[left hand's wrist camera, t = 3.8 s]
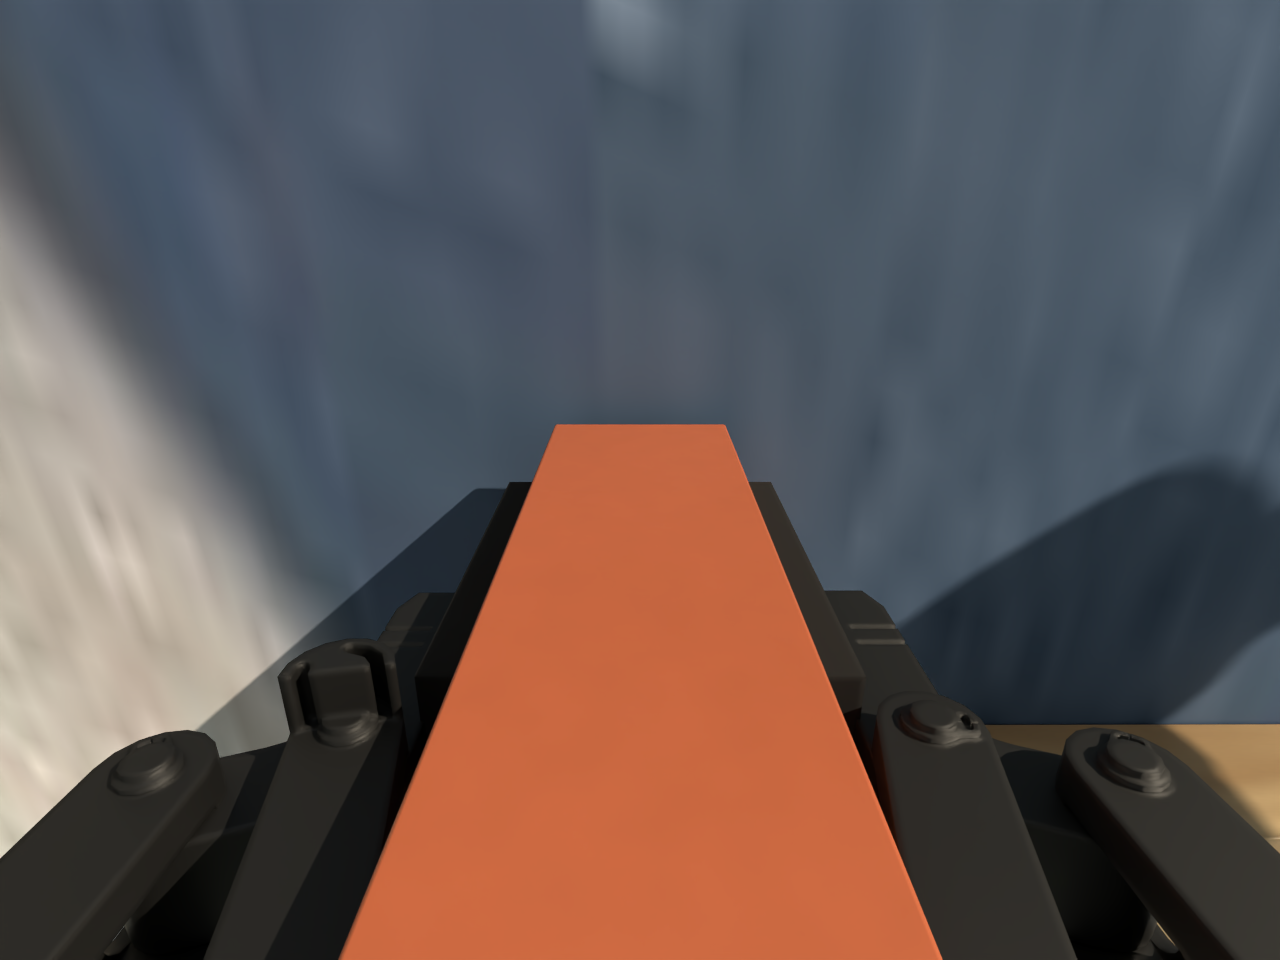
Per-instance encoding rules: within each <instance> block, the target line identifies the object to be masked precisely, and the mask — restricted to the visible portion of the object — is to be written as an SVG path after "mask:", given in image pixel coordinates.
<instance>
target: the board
mask: <svg viewBox="0 0 1280 960" xmlns="http://www.w3.org/2000/svg"><path fill="white" fill-rule="evenodd" d="M985 726H986V728H987V729H988V731H989V732H990V734H991V737H992V738H994V739H996V740H999V741H1003V742H1006V743H1010V744H1013V745H1017V746H1022V747H1026V748H1031V749H1035V750H1040V751H1045V752H1049V753H1054V754H1058V755H1062V752H1063V749H1064V745H1065V742H1066V739H1067V738H1068V737H1069V736H1071V735H1072V734H1073V733H1074V732H1075V731H1077V730H1082V729H1087V728H1092V727H1096V728H1106V729H1116V730H1120V731H1123V732H1127V733H1129V734H1134V735H1136V736H1139V737H1142V738H1144V739H1146V740H1148V741H1150V742H1152V743H1154V744H1156V745H1158V746H1160V747H1162V748H1164V749H1166V750H1168V751H1169V752H1170V753H1172V754H1173V755H1174V756H1176V757H1177V758H1178V759H1180V760H1181V761H1182V762H1184V763H1185V764H1186V765H1188V766H1189V767H1190V768H1191V769H1192V770H1193V771H1194V772H1195V773H1196V774H1197V775H1198V776H1199V777H1200V778H1201V779H1202V780H1203V781H1204V782H1205V783H1207V784H1208V785H1209V786H1210V787H1211V788H1212V789H1213V790H1214V791H1215V792H1216V793H1217V794H1218V795H1219V796H1220V797H1221V798H1222V799H1223V800H1224V801H1225V802H1226V803H1227V804H1229V805H1230V806H1231V807H1232V808H1233V809H1234V810H1235V811H1236V812H1237V813H1238V814H1239V815H1240V816H1241V817H1242V818H1243V819H1244V820H1245V821H1246V822H1247V823H1248V824H1249V825H1251V826H1252V827H1253V828H1254V829H1255V830H1256V831H1257V832H1258V833H1259V834H1260V835H1261V836H1262V837H1263V838H1264V839H1265V840H1266V841H1267V842H1268V843H1269V844H1270V845H1271V846H1273V847H1274V848H1275V849H1276V850H1277V851H1278V852H1279V853H1280V724H1174V725H985ZM1157 924H1158V922H1157ZM1158 926H1159V927H1160V928H1161V930H1162V931H1163V932H1164V934H1165V935H1166V936H1167V937H1168V935H1167V934H1166V933H1165V931H1164V930H1163V929H1162V927H1161V926H1160V925H1159V924H1158ZM1168 939H1169V940H1170V941H1171V942H1172V940H1171V939H1170V938H1169V937H1168ZM1172 943H1173V942H1172ZM1173 944H1174V943H1173ZM1174 945H1175V944H1174Z"/></svg>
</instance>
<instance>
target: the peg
mask: <svg viewBox="0 0 1280 960" xmlns="http://www.w3.org/2000/svg"><path fill="white" fill-rule="evenodd" d="M338 960H943V959H942V957H941V954H940V952H939V950H938V947H937V945H936V942H935V940H934V937H933V935H932V932H931V930H930V927H929V925H928V923H927V920H926V918H925V915H924V913H923V910H922V908H921V905H920V903H919V900H918V898H917V895H916V893H915V891H914V888H913V886H912V883H911V881H910V878H909V876H908V873H907V871H906V868H905V866H904V864H903V861H902V859H901V856H900V854H899V851H898V849H897V846H896V844H895V841H894V839H893V837H892V834H891V832H890V829H889V827H888V824H887V822H886V819H885V817H884V814H883V812H882V809H881V807H880V805H879V802H878V800H877V797H876V795H875V792H874V790H873V787H872V785H871V782H870V780H869V778H868V775H867V773H866V770H865V768H864V765H863V763H862V760H861V758H860V755H859V753H858V751H857V748H856V746H855V743H854V741H853V738H852V736H851V733H850V731H849V728H848V726H847V724H846V721H845V719H844V716H843V714H842V711H841V709H840V706H839V704H838V701H837V699H836V696H835V694H834V692H833V689H832V687H831V684H830V682H829V679H828V677H827V674H826V672H825V669H824V667H823V665H822V662H821V660H820V657H819V655H818V652H817V650H816V647H815V645H814V642H813V640H812V638H811V635H810V633H809V630H808V628H807V625H806V623H805V620H804V618H803V615H802V613H801V611H800V608H799V606H798V603H797V601H796V598H795V596H794V593H793V591H792V588H791V586H790V583H789V581H788V579H787V576H786V574H785V571H784V569H783V566H782V564H781V561H780V559H779V556H778V554H777V552H776V549H775V547H774V544H773V542H772V539H771V537H770V534H769V532H768V529H767V527H766V525H765V522H764V520H763V517H762V515H761V512H760V510H759V507H758V505H757V502H756V500H755V498H754V495H753V493H752V490H751V488H750V485H749V483H748V480H747V478H746V475H745V473H744V470H743V468H742V466H741V463H740V461H739V458H738V456H737V453H736V451H735V448H734V446H733V443H732V441H731V439H730V436H729V434H728V431H727V429H726V426H725V425H555V427H554V430H553V432H552V434H551V437H550V439H549V442H548V444H547V447H546V449H545V452H544V454H543V457H542V459H541V462H540V464H539V466H538V469H537V471H536V474H535V476H534V479H533V481H532V484H531V486H530V489H529V491H528V494H527V496H526V498H525V501H524V503H523V506H522V508H521V511H520V513H519V516H518V518H517V521H516V523H515V526H514V528H513V530H512V533H511V535H510V538H509V540H508V543H507V545H506V548H505V550H504V553H503V555H502V558H501V560H500V562H499V565H498V567H497V570H496V572H495V575H494V577H493V580H492V582H491V585H490V587H489V590H488V592H487V594H486V597H485V599H484V602H483V604H482V607H481V609H480V612H479V614H478V617H477V619H476V622H475V624H474V626H473V629H472V631H471V634H470V636H469V639H468V641H467V644H466V646H465V649H464V651H463V654H462V656H461V658H460V661H459V663H458V666H457V668H456V671H455V673H454V676H453V678H452V681H451V683H450V686H449V688H448V690H447V693H446V695H445V698H444V700H443V703H442V705H441V708H440V710H439V713H438V715H437V718H436V720H435V722H434V725H433V727H432V730H431V732H430V735H429V737H428V740H427V742H426V745H425V747H424V750H423V752H422V754H421V757H420V759H419V762H418V764H417V767H416V769H415V772H414V774H413V777H412V779H411V782H410V784H409V786H408V789H407V791H406V794H405V796H404V799H403V801H402V804H401V806H400V809H399V811H398V814H397V816H396V818H395V821H394V823H393V826H392V828H391V831H390V833H389V836H388V838H387V841H386V843H385V846H384V848H383V850H382V853H381V855H380V858H379V860H378V863H377V865H376V868H375V870H374V873H373V875H372V878H371V880H370V882H369V885H368V887H367V890H366V892H365V895H364V897H363V900H362V902H361V905H360V907H359V910H358V912H357V914H356V917H355V919H354V922H353V924H352V927H351V929H350V932H349V934H348V937H347V939H346V942H345V944H344V946H343V949H342V951H341V954H340V956H339V959H338Z"/></svg>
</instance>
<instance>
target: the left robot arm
mask: <svg viewBox="0 0 1280 960" xmlns="http://www.w3.org/2000/svg"><path fill="white" fill-rule="evenodd" d="M748 483H749V485H750V488H751V490H752V493H753V495H754V498H755V500H756V502H757V505H758V507H759V510H760V512H761V515H762V517H763V520H764V522H765V525H766V527H767V529H768V532H769V534H770V537H771V539H772V542H773V544H774V547H775V549H776V552H777V554H778V556H779V559H780V561H781V564H782V566H783V569H784V571H785V574H786V576H787V579H788V581H789V583H790V586H791V588H792V591H793V593H794V596H795V598H796V601H797V603H798V606H799V608H800V611H801V613H802V615H803V618H804V620H805V623H806V625H807V628H808V630H809V633H810V635H811V638H812V640H813V642H814V645H815V647H816V650H817V652H818V655H819V657H820V660H821V662H822V665H823V667H824V669H825V672H826V674H827V677H828V679H829V682H830V684H831V687H832V689H833V692H834V694H835V696H836V699H837V701H838V704H839V706H840V709H841V711H842V714H843V716H844V719H845V721H846V724H847V726H848V728H849V731H850V733H851V736H852V738H853V741H854V743H855V746H856V748H857V751H858V753H859V755H860V758H861V760H862V763H863V765H864V768H865V770H866V773H867V775H868V778H869V780H870V782H871V785H872V787H873V790H874V792H875V795H876V797H877V800H878V802H879V805H880V807H881V809H882V812H883V814H884V817H885V819H886V822H887V824H888V827H889V829H890V832H891V834H892V837H893V839H894V841H895V844H896V846H897V849H898V851H899V854H900V856H901V859H902V861H903V864H904V866H905V868H906V871H907V873H908V876H909V878H910V881H911V883H912V886H913V888H914V891H915V893H916V895H917V898H918V900H919V903H920V905H921V908H922V910H923V913H924V915H925V918H926V920H927V923H928V925H929V927H930V930H931V932H932V935H933V937H934V940H935V942H936V945H937V947H938V950H939V952H940V954H941V957H942V959H943V960H1280V853H1279V852H1278V851H1277V850H1276V849H1275V848H1274V847H1273V846H1271V845H1270V844H1269V843H1268V842H1267V841H1266V840H1265V839H1264V838H1263V837H1262V836H1261V835H1260V834H1259V833H1258V832H1257V831H1256V830H1255V829H1254V828H1253V827H1252V826H1251V825H1249V824H1248V823H1247V822H1246V821H1245V820H1244V819H1243V818H1242V817H1241V816H1240V815H1239V814H1238V813H1237V812H1236V811H1235V810H1234V809H1233V808H1232V807H1231V806H1230V805H1229V804H1227V803H1226V802H1225V801H1224V800H1223V799H1222V798H1221V797H1220V796H1219V795H1218V794H1217V793H1216V792H1215V791H1214V790H1213V789H1212V788H1211V787H1210V786H1209V785H1208V784H1207V783H1205V782H1204V781H1203V780H1202V779H1201V778H1200V777H1199V776H1198V775H1197V774H1196V773H1195V772H1194V771H1193V770H1192V769H1191V768H1190V767H1189V766H1188V765H1186V764H1185V763H1184V762H1182V761H1181V760H1180V759H1178V758H1177V757H1176V756H1174V755H1173V754H1172V753H1170V752H1169V751H1168V750H1166V749H1164V748H1162V747H1160V746H1158V745H1156V744H1154V743H1152V742H1150V741H1148V740H1146V739H1144V738H1142V737H1139V736H1136V735H1134V734H1129V733H1127V732H1123V731H1120V730H1116V729H1106V728H1096V727H1092V728H1087V729H1082V730H1077V731H1075V732H1074V733H1073V734H1072V735H1071V736H1069V737H1068V738H1067V739H1066V742H1065V745H1064V749H1063V752H1062V755H1058V754H1054V753H1049V752H1045V751H1040V750H1035V749H1031V748H1026V747H1022V746H1017V745H1013V744H1010V743H1006V742H1003V741H999V740H996V739H994V738H992V737H991V734H990V732H989V731H988V729H987V728H986V726H985V725H984V723H983V722H982V720H981V719H980V718H979V717H978V716H977V715H976V714H974V713H973V712H972V711H970V710H969V709H968V708H967V707H965V706H964V705H962V704H960V703H958V702H955V701H953V700H951V699H949V698H947V697H945V696H941V695H938V693H937V691H936V690H935V688H934V687H933V685H932V683H931V682H930V680H929V679H928V677H927V675H926V674H925V672H924V671H923V669H922V667H921V666H920V664H919V663H918V661H917V659H916V658H915V656H914V654H913V653H912V651H911V650H910V648H909V646H908V645H905V640H904V638H903V637H902V635H901V634H900V632H899V630H898V629H895V624H894V622H893V621H892V619H891V618H890V616H889V614H888V613H887V611H886V610H885V608H884V607H883V606H882V605H881V604H879V603H878V602H877V601H875V600H874V599H872V598H871V597H870V596H868V595H867V594H866V593H864V592H863V591H824V590H823V587H822V585H821V583H820V581H819V579H818V577H817V575H816V573H815V571H814V569H813V567H812V565H811V563H810V561H809V559H808V557H807V555H806V553H805V551H804V549H803V547H802V545H801V543H800V541H799V539H798V536H797V534H796V532H795V530H794V528H793V526H792V524H791V522H790V520H789V518H788V516H787V514H786V512H785V510H784V508H783V506H782V504H781V502H780V500H779V498H778V496H777V494H776V492H775V490H774V488H773V485H772V483H771V482H748ZM531 484H532V482H509V484H508V486H507V488H506V490H505V493H504V495H503V497H502V499H501V501H500V503H499V505H498V507H497V509H496V511H495V513H494V515H493V517H492V519H491V521H490V523H489V525H488V527H487V529H486V531H485V533H484V535H483V537H482V539H481V542H480V544H479V546H478V548H477V550H476V552H475V554H474V556H473V558H472V560H471V562H470V564H469V566H468V568H467V570H466V572H465V574H464V576H463V578H462V580H461V582H460V584H459V586H458V588H457V590H456V593H418V594H417V595H415V596H414V597H413V598H411V599H410V600H408V601H407V602H406V603H404V604H403V605H402V606H400V607H399V608H398V609H397V610H396V611H395V613H394V615H393V616H392V618H391V619H390V621H389V623H388V624H387V626H386V630H385V631H383V632H382V634H381V636H380V637H379V639H378V640H377V641H374V640H371V639H344V640H339V641H335V642H330V643H325V644H323V645H320V646H318V647H316V648H313V649H311V650H308V651H306V652H304V653H303V654H301V655H300V656H298V657H297V658H295V659H294V660H292V661H291V662H289V663H288V664H287V665H286V667H285V668H284V669H283V670H282V672H281V673H280V674H279V676H278V681H279V686H280V690H281V694H282V699H283V703H284V708H285V712H286V716H287V721H288V725H289V730H290V735H289V738H288V741H287V742H284V743H280V744H277V745H274V746H270V747H267V748H262V749H258V750H253V751H249V752H244V753H240V754H235V755H231V756H226V757H222V758H219V754H218V750H217V747H216V743H215V742H214V741H213V740H212V739H211V738H210V737H209V736H208V735H206V734H205V733H200V732H195V731H190V730H183V731H173V732H164V733H161V734H158V735H154V736H151V737H148V738H145V739H142V740H139V741H137V742H135V743H133V744H131V745H129V746H127V747H125V748H123V749H121V750H119V751H117V752H115V753H114V754H112V755H111V756H110V757H108V758H107V759H106V760H104V761H103V762H102V763H101V764H99V765H98V766H97V767H95V768H94V769H93V770H92V771H91V772H90V773H89V774H88V775H87V776H86V777H85V778H84V779H83V780H81V781H80V782H79V783H78V784H77V785H76V786H75V787H74V788H73V789H72V790H71V791H70V792H69V793H68V794H67V795H66V796H65V797H64V798H63V799H62V800H61V801H60V802H59V803H58V804H57V805H55V806H54V807H53V808H52V809H51V810H50V811H49V812H48V813H47V814H46V815H45V816H44V817H43V818H42V819H41V820H40V821H39V822H38V823H37V824H36V825H35V826H34V827H33V828H32V829H31V830H29V831H28V832H27V833H26V834H25V835H24V836H23V837H22V838H21V839H20V840H19V841H18V842H17V843H16V844H15V845H14V846H13V847H12V848H11V849H10V850H9V851H8V852H7V853H6V854H5V855H3V856H2V857H1V858H0V960H338V959H339V956H340V954H341V951H342V949H343V946H344V944H345V942H346V939H347V937H348V934H349V932H350V929H351V927H352V924H353V922H354V919H355V917H356V914H357V912H358V910H359V907H360V905H361V902H362V900H363V897H364V895H365V892H366V890H367V887H368V885H369V882H370V880H371V878H372V875H373V873H374V870H375V868H376V865H377V863H378V860H379V858H380V855H381V853H382V850H383V848H384V846H385V843H386V841H387V838H388V836H389V833H390V831H391V828H392V826H393V823H394V821H395V818H396V816H397V814H398V811H399V809H400V806H401V804H402V801H403V799H404V796H405V794H406V791H407V789H408V786H409V784H410V782H411V779H412V777H413V774H414V772H415V769H416V767H417V764H418V762H419V759H420V757H421V754H422V752H423V750H424V747H425V745H426V742H427V740H428V737H429V735H430V732H431V730H432V727H433V725H434V722H435V720H436V718H437V715H438V713H439V710H440V708H441V705H442V703H443V700H444V698H445V695H446V693H447V690H448V688H449V686H450V683H451V681H452V678H453V676H454V673H455V671H456V668H457V666H458V663H459V661H460V658H461V656H462V654H463V651H464V649H465V646H466V644H467V641H468V639H469V636H470V634H471V631H472V629H473V626H474V624H475V622H476V619H477V617H478V614H479V612H480V609H481V607H482V604H483V602H484V599H485V597H486V594H487V592H488V590H489V587H490V585H491V582H492V580H493V577H494V575H495V572H496V570H497V567H498V565H499V562H500V560H501V558H502V555H503V553H504V550H505V548H506V545H507V543H508V540H509V538H510V535H511V533H512V530H513V528H514V526H515V523H516V521H517V518H518V516H519V513H520V511H521V508H522V506H523V503H524V501H525V498H526V496H527V494H528V491H529V489H530V486H531ZM1157 922H1158V924H1159V925H1160V926H1161V927H1162V929H1163V930H1164V931H1165V933H1166V934H1167V935H1168V937H1169V938H1170V939H1171V940H1172V942H1173V943H1174V944H1175V945H1174V944H1173V943H1172V942H1171V941H1170V940H1169V939H1168V937H1167V936H1166V935H1165V934H1164V932H1163V931H1162V930H1161V928H1160V927H1159V926H1158V924H1157ZM123 926H124V928H123ZM122 928H123V929H122ZM121 929H122V930H121ZM120 930H121V931H120ZM119 932H120V933H119ZM118 933H119V934H118ZM117 934H118V935H117ZM116 936H117V937H116ZM115 937H116V938H115ZM114 938H115V939H114Z"/></svg>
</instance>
